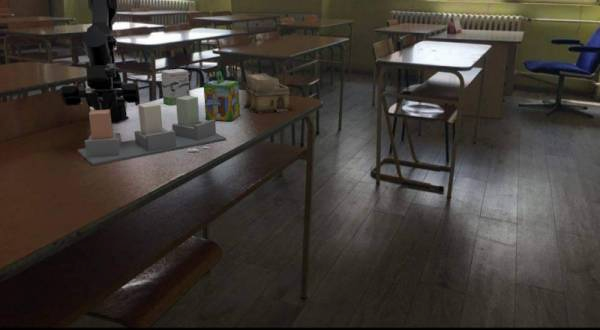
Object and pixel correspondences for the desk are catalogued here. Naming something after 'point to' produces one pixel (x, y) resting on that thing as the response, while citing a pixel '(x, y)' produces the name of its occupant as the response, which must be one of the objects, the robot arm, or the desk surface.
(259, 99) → the miniature house
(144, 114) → the cream box
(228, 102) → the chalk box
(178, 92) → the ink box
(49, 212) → the desk surface
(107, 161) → the grey three-slot stand
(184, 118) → the sage box
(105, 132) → the terracotta box
